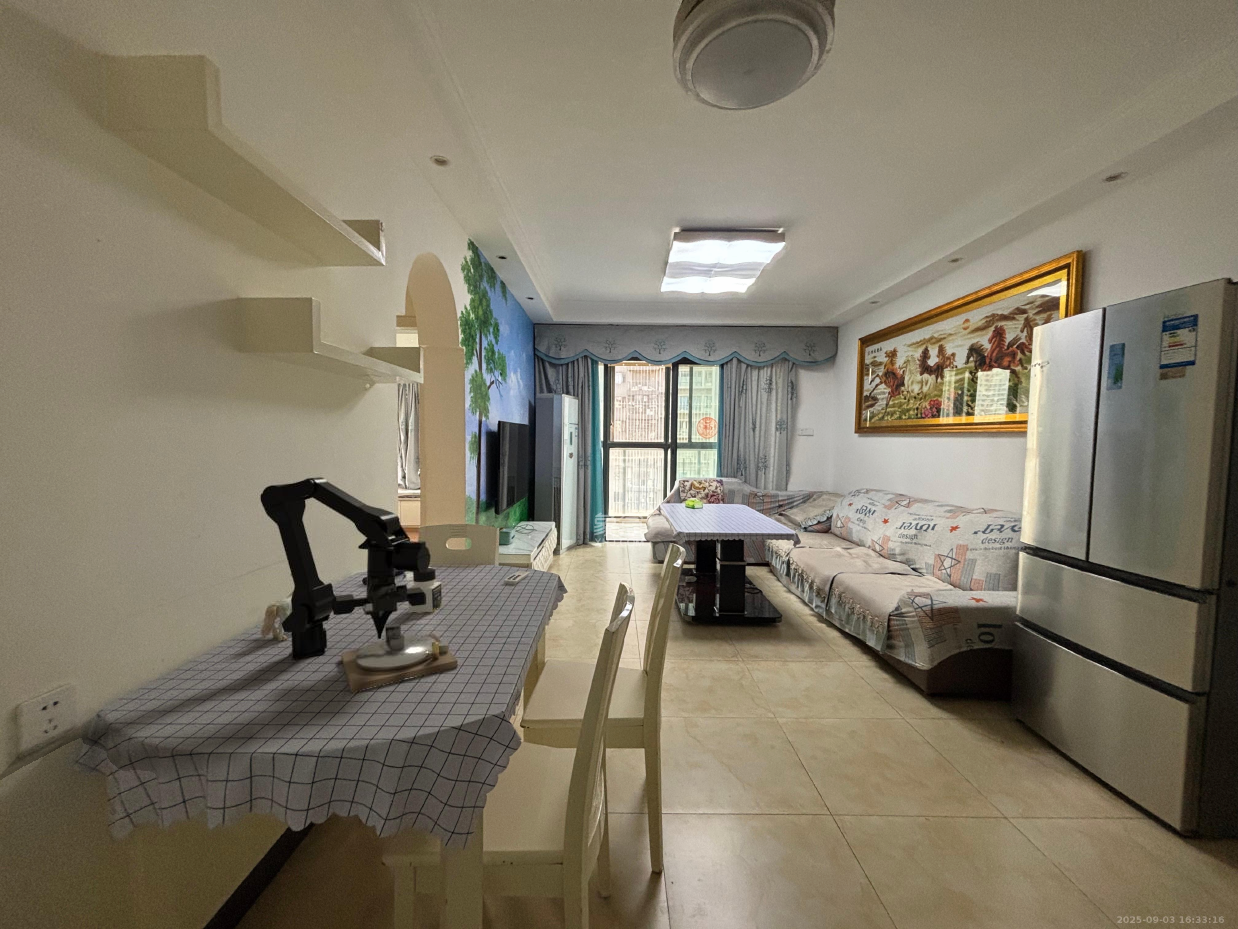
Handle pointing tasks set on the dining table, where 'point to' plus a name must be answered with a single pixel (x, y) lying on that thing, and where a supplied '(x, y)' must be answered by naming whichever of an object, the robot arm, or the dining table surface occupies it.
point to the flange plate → (397, 652)
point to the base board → (368, 679)
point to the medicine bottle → (427, 591)
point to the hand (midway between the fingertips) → (379, 638)
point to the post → (397, 642)
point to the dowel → (435, 650)
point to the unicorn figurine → (272, 612)
